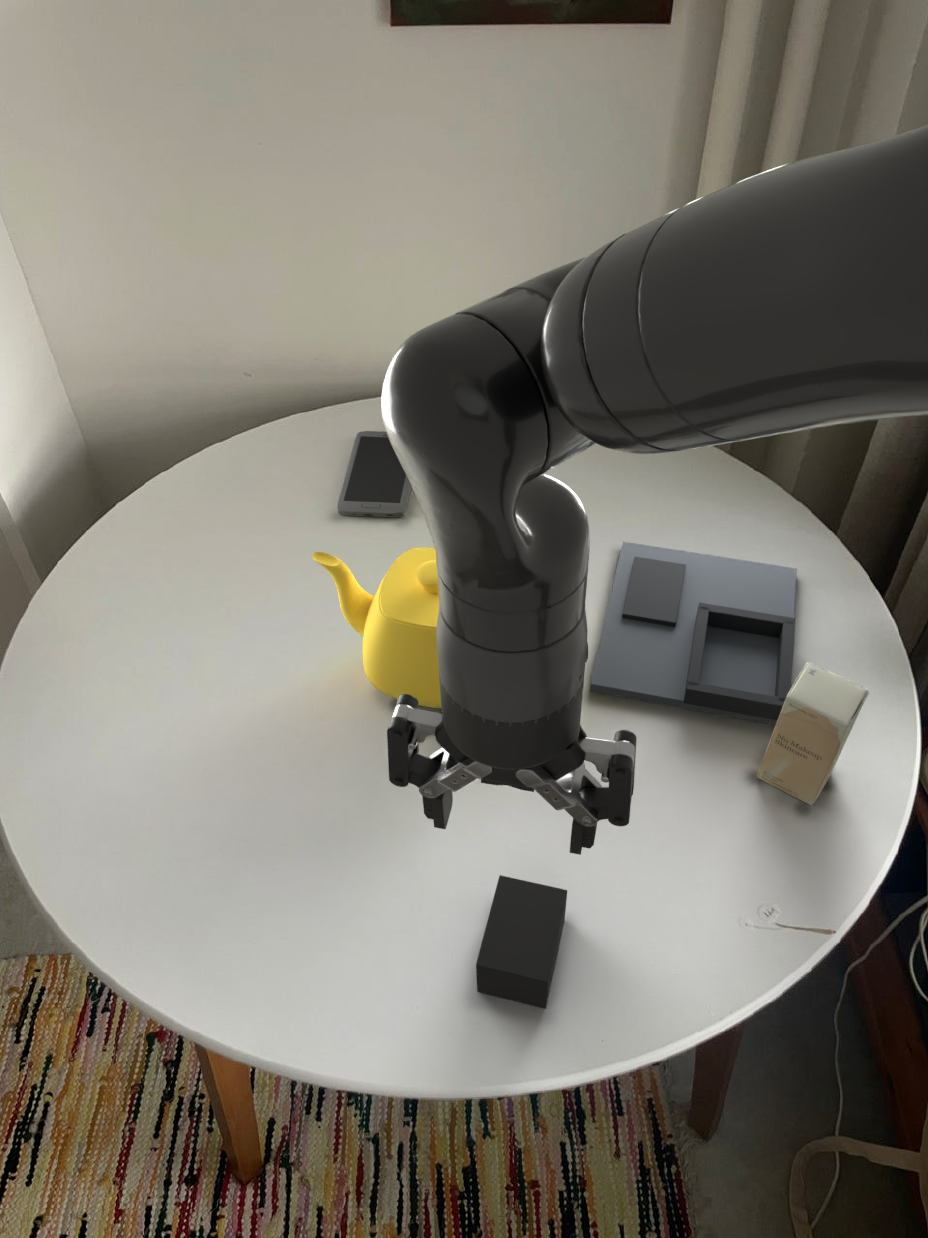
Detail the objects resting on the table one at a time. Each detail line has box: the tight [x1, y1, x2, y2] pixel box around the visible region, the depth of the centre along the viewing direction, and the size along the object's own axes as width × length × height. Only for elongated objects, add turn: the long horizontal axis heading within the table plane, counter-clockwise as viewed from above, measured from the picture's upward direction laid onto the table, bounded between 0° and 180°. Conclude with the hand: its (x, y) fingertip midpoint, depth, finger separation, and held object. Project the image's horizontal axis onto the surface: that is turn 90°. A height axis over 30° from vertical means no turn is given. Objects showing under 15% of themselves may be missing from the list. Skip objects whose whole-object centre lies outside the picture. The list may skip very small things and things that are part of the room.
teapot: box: [311, 546, 441, 709], centre depth 89 cm, size 13×20×12 cm
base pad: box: [589, 541, 798, 726], centre depth 95 cm, size 17×19×3 cm
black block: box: [475, 875, 568, 1009], centre depth 73 cm, size 5×7×4 cm
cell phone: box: [337, 430, 412, 518], centre depth 112 cm, size 7×14×1 cm, turn 175°
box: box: [756, 661, 870, 806], centre depth 81 cm, size 5×4×11 cm
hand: (510, 829), depth 64 cm, fingers open, 8 cm apart
